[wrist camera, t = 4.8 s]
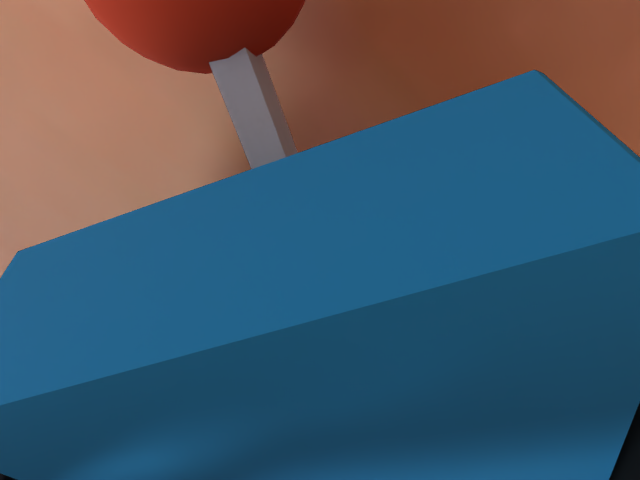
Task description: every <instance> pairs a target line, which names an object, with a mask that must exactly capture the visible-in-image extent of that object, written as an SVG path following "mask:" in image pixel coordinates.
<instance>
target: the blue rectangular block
mask: <svg viewBox="0 0 640 480" xmlns="http://www.w3.org/2000/svg"><path fill="white" fill-rule="evenodd" d="M85 2H86V3H87V5H88V7H89V8H90V10H91V11H92V13H93V14H94V16H95V18H97V19H98V20H99V21H100V22H101V23H102V24H103V25H104V26H105V27H106V28H107V29H108V30H109V31H110V32H111V33H112V34H113V35H114V36H115V37H116V38H117V39H118V40H120V41H121V42H122V43H123V44H124V45H126V46H128V47H129V48H131V49H132V50H134V51H135V52H137V53H139V54H140V55H142V56H143V57H145V58H147V59H150V60H152V61H154V62H157V63H159V64H162V65H165V66H167V67H170V68H173V69H175V70H180V71H188V72H196V73H204V74H207V73H212V72H213V75H214V77H215V80H216V82H217V85H218V87H219V90H220V92H221V95H222V97H223V100H224V102H225V104H226V107H227V109H228V112H229V114H230V117H231V119H232V122H233V124H234V127H235V129H236V132H237V134H238V137H239V139H240V142H241V144H242V147H243V149H244V152H245V154H246V157H247V159H248V162H249V164H250V167H251V170H248V171H245V172H242V173H239V174H237V175H234V176H231V177H228V178H225V179H222V180H220V181H217V182H214V183H211V184H208V185H205V186H202V187H200V188H197V189H194V190H191V191H188V192H185V193H183V194H180V195H177V196H174V197H171V198H168V199H166V200H163V201H160V202H157V203H154V204H151V205H148V206H146V207H143V208H140V209H137V210H134V211H131V212H129V213H126V214H123V215H120V216H117V217H114V218H112V219H109V220H106V221H103V222H100V223H97V224H94V225H92V226H89V227H86V228H83V229H80V230H77V231H75V232H72V233H69V234H66V235H63V236H60V237H57V238H55V239H52V240H49V241H46V242H43V243H40V244H38V245H35V246H32V247H29V248H26V249H23V250H21V251H18V252H17V253H16V255H15V256H14V258H13V260H12V261H11V263H10V264H9V266H8V267H7V269H6V270H5V272H4V273H3V275H2V277H1V278H0V473H1V474H3V475H6V476H9V477H12V478H14V479H17V480H609V478H610V476H611V473H612V471H613V468H614V466H615V463H616V461H617V458H618V456H619V453H620V450H621V448H622V445H623V443H624V440H625V438H626V435H627V433H628V430H629V428H630V425H631V423H632V420H633V418H634V415H635V413H636V410H637V407H638V405H639V402H640V157H639V156H638V155H636V154H635V153H634V152H633V151H632V150H631V149H630V148H628V147H627V146H626V145H625V144H624V143H623V142H621V141H620V140H619V139H618V138H617V137H616V136H615V135H613V134H612V133H611V132H610V131H609V130H608V129H607V128H605V127H604V126H603V125H602V124H601V123H600V122H599V121H597V120H596V119H595V118H594V117H593V116H592V115H591V114H589V113H588V112H587V111H586V110H585V109H584V108H582V107H581V106H580V105H579V104H578V103H577V102H576V101H574V100H573V99H572V98H571V97H570V96H569V95H568V94H566V93H565V92H564V91H563V90H562V89H561V88H560V87H558V86H557V85H556V84H555V83H554V82H553V81H552V80H550V79H549V78H548V77H547V76H546V75H545V74H543V73H541V72H539V71H536V70H532V71H529V72H527V73H524V74H521V75H518V76H515V77H512V78H510V79H507V80H504V81H501V82H498V83H495V84H493V85H490V86H487V87H484V88H481V89H478V90H475V91H473V92H470V93H467V94H464V95H461V96H458V97H456V98H453V99H450V100H447V101H444V102H441V103H438V104H436V105H433V106H430V107H427V108H424V109H421V110H419V111H416V112H413V113H410V114H407V115H404V116H402V117H399V118H396V119H393V120H390V121H387V122H384V123H382V124H379V125H376V126H373V127H370V128H367V129H365V130H362V131H359V132H356V133H353V134H350V135H348V136H345V137H342V138H339V139H336V140H333V141H330V142H328V143H325V144H322V145H319V146H316V147H313V148H311V149H308V150H305V151H302V152H299V153H298V152H297V149H296V146H295V144H294V141H293V138H292V135H291V133H290V130H289V127H288V124H287V122H286V119H285V116H284V113H283V111H282V108H281V105H280V102H279V100H278V97H277V94H276V91H275V89H274V86H273V83H272V80H271V78H270V75H269V72H268V69H267V67H266V64H265V61H264V58H263V56H262V53H264V52H265V51H267V50H269V49H270V48H272V47H273V46H275V45H276V43H277V42H278V41H279V40H280V39H281V38H282V36H283V35H284V34H285V33H286V32H287V31H288V30H289V28H290V27H291V26H292V25H293V24H294V22H295V20H296V18H297V16H298V14H299V12H300V10H301V8H302V7H303V5H304V2H305V0H85Z"/></svg>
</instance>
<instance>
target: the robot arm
mask: <svg viewBox="0 0 640 480" xmlns="http://www.w3.org/2000/svg"><path fill="white" fill-rule="evenodd" d="M0 480H17V479H14V478H12V477H9V476H6V475H3V474H1V473H0ZM609 480H640V402H639V405H638V407H637V410H636V413H635V415H634V418H633V420H632V423H631V425H630V428H629V430H628V433H627V435H626V438H625V440H624V443H623V445H622V448H621V450H620V453H619V456H618V458H617V461H616V463H615V466H614V468H613V471H612V473H611V476H610V478H609Z"/></svg>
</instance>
